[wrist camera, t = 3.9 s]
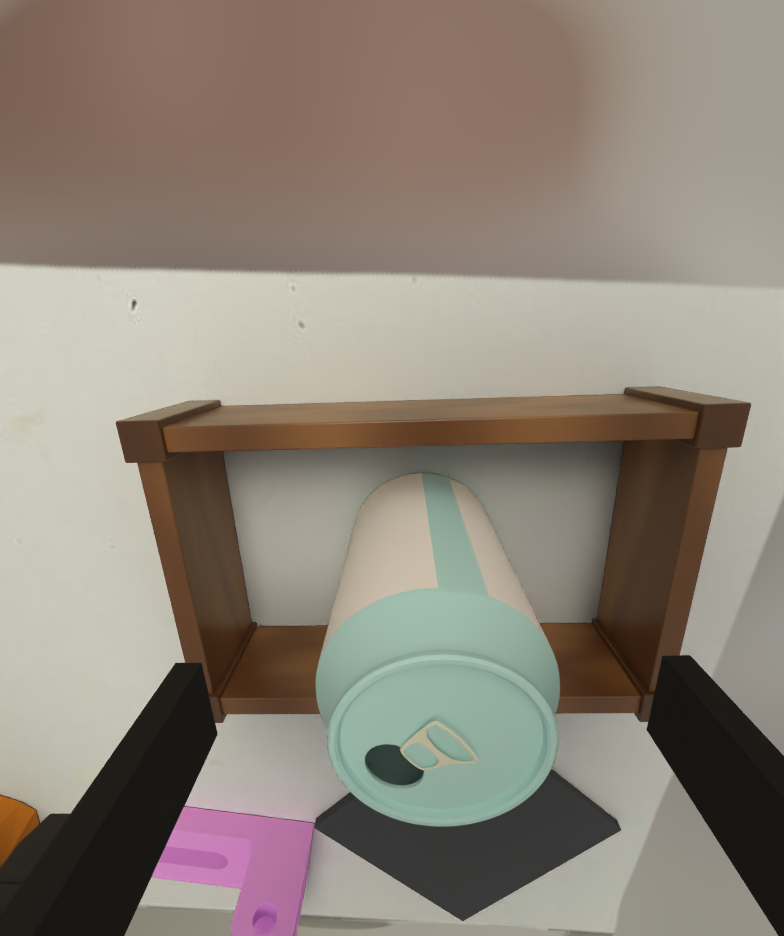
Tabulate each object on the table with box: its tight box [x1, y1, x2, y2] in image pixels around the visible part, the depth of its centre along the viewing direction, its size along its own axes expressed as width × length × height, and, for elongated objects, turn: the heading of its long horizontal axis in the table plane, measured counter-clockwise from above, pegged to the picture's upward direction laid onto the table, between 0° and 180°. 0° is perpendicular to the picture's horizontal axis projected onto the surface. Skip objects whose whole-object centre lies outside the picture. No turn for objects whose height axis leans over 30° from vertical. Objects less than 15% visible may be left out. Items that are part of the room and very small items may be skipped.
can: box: [316, 473, 560, 827], centre depth 16 cm, size 7×7×12 cm
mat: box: [315, 769, 621, 921], centre depth 28 cm, size 15×15×1 cm
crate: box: [116, 386, 751, 723], centre depth 19 cm, size 23×15×5 cm, turn 92°
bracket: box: [152, 807, 314, 936], centre depth 26 cm, size 13×6×7 cm, turn 82°
